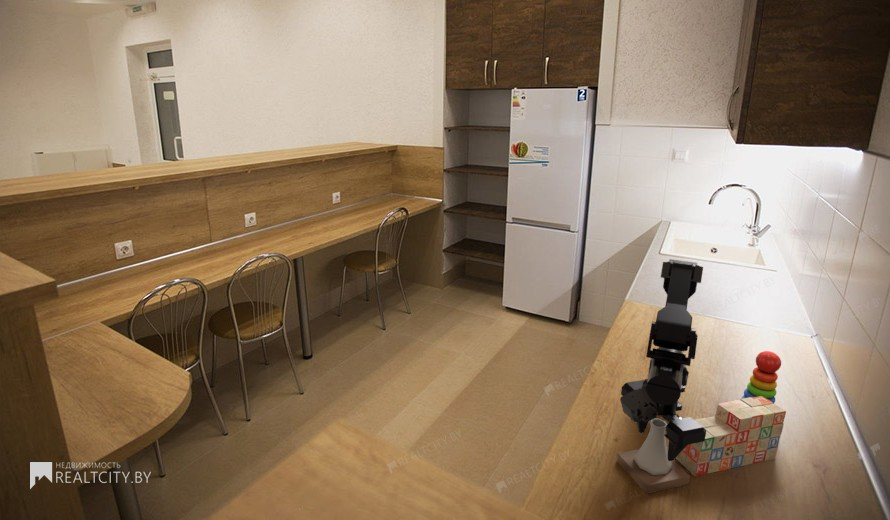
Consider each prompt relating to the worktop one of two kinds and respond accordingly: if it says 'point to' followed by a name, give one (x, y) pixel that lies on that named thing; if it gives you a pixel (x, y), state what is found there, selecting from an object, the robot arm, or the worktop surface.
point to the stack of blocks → (736, 436)
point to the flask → (654, 450)
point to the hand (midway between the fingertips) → (655, 445)
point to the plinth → (648, 480)
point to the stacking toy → (764, 377)
